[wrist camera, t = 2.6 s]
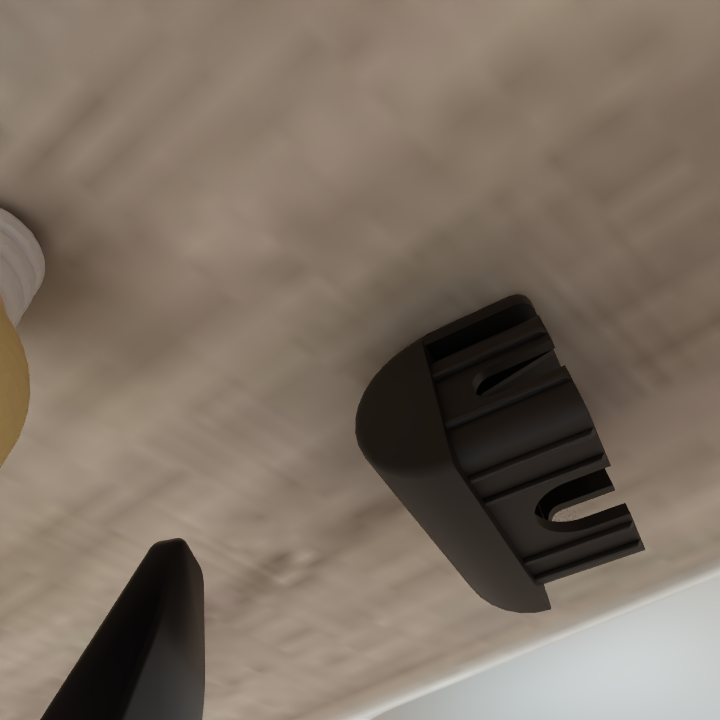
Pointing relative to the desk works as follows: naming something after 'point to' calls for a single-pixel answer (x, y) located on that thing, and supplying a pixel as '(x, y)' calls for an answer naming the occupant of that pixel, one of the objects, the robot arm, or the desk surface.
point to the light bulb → (15, 323)
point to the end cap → (494, 454)
